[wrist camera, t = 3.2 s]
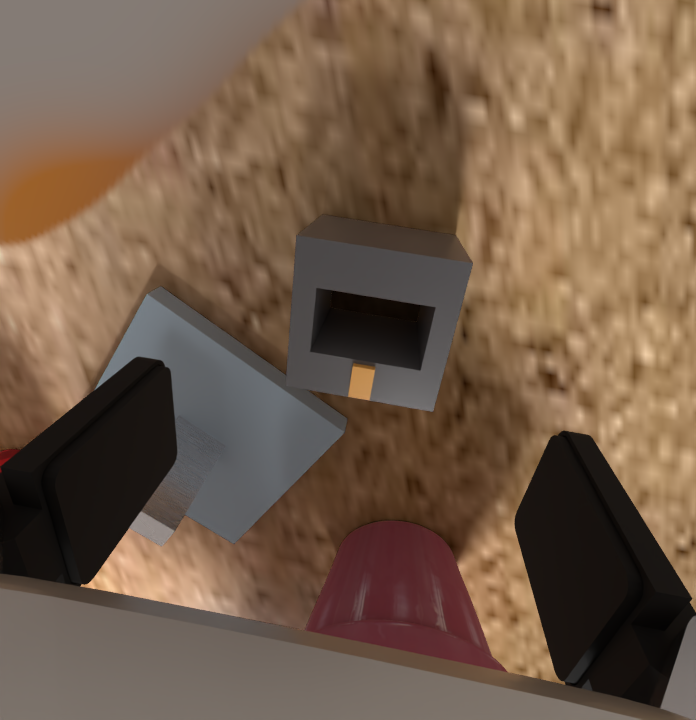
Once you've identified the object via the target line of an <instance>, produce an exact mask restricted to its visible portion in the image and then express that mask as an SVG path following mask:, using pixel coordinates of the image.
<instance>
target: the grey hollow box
mask: <svg viewBox="0 0 696 720" xmlns="http://www.w3.org/2000/svg"><path fill="white" fill-rule="evenodd" d="M472 265H473V262H472V261H471V259H470V258H469V256H468V254H467V253H466V251H465V249H464V248H463V246H462V244H461V243H460V241H459V239H458V238H457V236H456V235H451V234H445V233H438V232H432V231H425V230H419V229H412V228H406V227H400V226H393V225H387V224H380V223H374V222H367V221H361V220H355V219H348V218H342V217H335V216H329V215H323V214H322V215H321V216H320V217H319V218H317V219H316V220H315V221H314V222H312V223H311V224H310V225H309V226H307V227H306V228H305V229H304V230H302V231H301V232H300V233H299V234H297V235H296V249H295V263H294V277H293V290H292V304H291V318H290V331H289V345H288V359H287V373H286V386H288V387H294V388H300V389H306V390H311V391H317V392H323V393H328V394H334V395H340V396H346V397H351V398H357V399H363V400H368V401H374V402H380V403H386V404H391V405H397V406H403V407H408V408H414V409H420V410H426V411H431V412H433V410H434V406H435V403H436V399H437V395H438V392H439V388H440V384H441V380H442V377H443V373H444V369H445V366H446V362H447V358H448V354H449V351H450V347H451V343H452V340H453V336H454V332H455V328H456V325H457V321H458V317H459V313H460V310H461V306H462V302H463V299H464V295H465V291H466V287H467V284H468V280H469V276H470V273H471V269H472ZM332 291H339V292H345V293H351V294H358V295H364V296H370V297H376V298H382V299H388V300H394V301H400V302H406V303H413V304H419V305H420V310H419V314H418V319H417V322H416V321H410V320H404V319H398V318H392V317H386V316H380V315H374V314H368V313H362V312H356V311H350V310H344V309H338V308H332V307H331V299H332Z"/></svg>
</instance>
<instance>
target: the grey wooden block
mask: <svg viewBox="0 0 696 720" xmlns="http://www.w3.org/2000/svg"><path fill="white" fill-rule="evenodd" d="M175 427H176V438H177V458H176V461H175V463H174V465H173V467H172V468H171V470H170V471H169V472H168V474H167V475H166V477H165V478H164V479H163V481H162V482H161V484H160V485H159V486H158V488H157V489H156V491H155V492H154V493H153V495H152V496H151V498H150V499H149V501H148V502H147V503H146V505H145V506H144V508H143V509H142V510H141V512H140V513H139V515H138V516H137V517H136V519H135V520H134V522H133V523H132V524H131V526H130V527H129V528H130V529H132V530H134V531H135V532H137V533H139V534H141V535H142V536H144V537H146V538H148V539H149V540H151V541H153V542H155V543H156V544H158V545H160V546H163V545H164V543H165V542H166V541H167V540H168V539H169V538H170V536H171V535H172V534H173V533H174V532H175V530H176V529H177V527H178V525H179V524H180V522H181V520H182V518H183V517H184V515H185V513H186V512H187V510H188V508H189V507H190V505H191V503H192V502H193V500H194V498H195V497H196V495H197V493H198V492H199V490H200V488H201V487H202V485H203V483H204V482H205V480H206V478H207V477H208V475H209V473H210V472H211V470H212V468H213V467H214V465H215V463H216V462H217V460H218V458H219V457H220V455H221V453H222V452H223V450H224V448H225V447H226V446H225V445H224V444H222V443H221V442H219V441H218V440H216V439H215V438H213V437H211V436H210V435H208V434H207V433H205V432H204V431H202V430H201V429H199V428H198V427H196V426H195V425H193V424H191V423H190V422H188V421H187V420H185V419H184V418H182V417H181V416H178V417H177V418H176V419H175Z"/></svg>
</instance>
